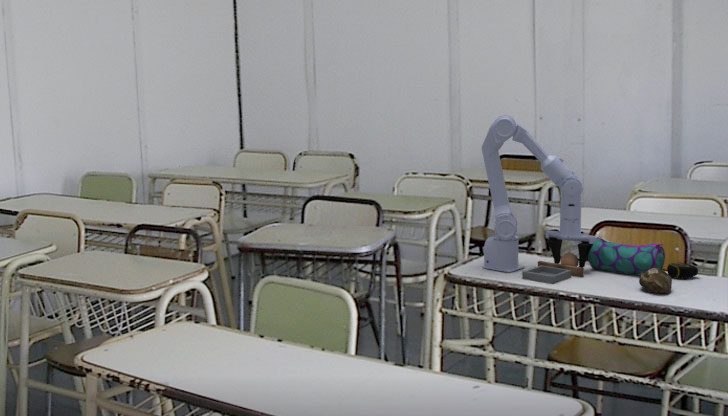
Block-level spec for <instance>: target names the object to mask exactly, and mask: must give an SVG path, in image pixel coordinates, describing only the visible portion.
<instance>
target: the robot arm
mask: <svg viewBox="0 0 728 416" xmlns="http://www.w3.org/2000/svg"><path fill="white" fill-rule="evenodd" d="M510 138H511V139H512V141H513V142H515V143H516V142H517V143H520V144H522V145H523V146H524V147H525V148H526V149H527V150H528V151H529V152H530V153H531V154H532V155H533V156H534V157H535V158H536V159H537V160H538V161H539V162H540V170H541V171H542V173H544V174H545V175H546V176H547V178H548V179H550V181H551V182H552V183H553V184H554V185H555V186H557V187H559V189H560V192H561V201H560V204H559V205H560V210H559V213H560V214H559V231H558V230H557V231H556V230H547V231H545V239H547V241H546V243H547V246H548V247H549V249H550V251H551V255H552V258H553V263H556V264H561V258H562V256H561V251H562V244H563V240H564V241H571V242H579V243H577V248H578V261H579V263H578V267H581V268H584V267H585V265H586V262H587V260H588V259H587V258H588V254H589V251H590V250H591V248H592V246H593V243H595V239H596V235H590V234H586V233H581V231H582V230H581V227H582V202H581V201H582V196H581V195H582V193H583V190H584V188H583V184H582V182H581V181H580V179H579V177H578V176H577V175H575V174H576V173H575V172H574V171H573V170H570V169H569V168H568V166H567V165H566V164H565V163H564V159H563V158H562V157H558V156H557V155H550V154H549V153H548V152H547V151H546V149H544V148H543V146H542V145H541V144H540V143H539V141H537V139H536V138H535V137H534V136H533V135H532V133H530V131H528V130H527V129H526V128H525V127H524V126H523V125H522V124H520V122H516V120H515V119H514V117H513V116H511V115H508V114H503V115H500V116H498V117H497V118H496V119H495V120H494V121H493V122H492V124H491V125H490V127H489V129H488V131H487V133H486V136H485V137H484V141H483V142H482V145H481V152H482V156H483V162H484V167H485V172H486V176H487V181H488V185H489V191H490V196H491V202H492V206H493V209H494V218H495V222H494V223H495V224H494V233H495V234H494V235H492V236H489V237H487V239H485V242H484V246H483V250H484V251H483V256H484V257H483V258H484V259H483V265H482V268H483V269H488V270H492V271H493V270H494V271H498V272H504V273H511V272H512V273H513V272H515V271H518V270H521V269H525V266H524V265H519V236H518V235H517V232H518V220H517V218H516V217H515V216H514V214H513V212H512V209H511V205H510V199H509V195H508V191H507V186H506V180H505V177H504V171H503V167H502V163H501V157H500V156H501V155H500V152H499V151H500V150H501V149H502V147H503V145H504V144H505V142H507V141H509V140H510Z"/></svg>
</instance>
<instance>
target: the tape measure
mask: <svg viewBox="0 0 728 416" xmlns="http://www.w3.org/2000/svg"><path fill="white" fill-rule="evenodd" d="M666 270H667V274H668V275H669V276H670V277H671V278H672V277H673V278H674V279H679V280H681V278H682V279H691V278H693V277H695V276H697V275H698V274H699V268H698V267H697V266H695V265H691V264H689V263H688V264H687V263H684V262H683V263H682V262H671V263H669V264H668V265H667V268H666Z"/></svg>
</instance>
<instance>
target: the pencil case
mask: <svg viewBox="0 0 728 416" xmlns="http://www.w3.org/2000/svg"><path fill="white" fill-rule="evenodd" d="M663 245H664V243H662V242H661V243H659V244H658V243H650V244H643V245H637V244H636V245H633V244H624V243H616V242H613V241H610V240H608V239H606V238H604V237H602V236H601V235H599V236H597V237H596V239H595V243H593V246H592V248H591V250H590V251H589V254H588V256H587V258H588V259H587V260H588V263H589V266H590V267H591V268H592V269H598V270H601V271H608V272H612V273H613V272H614V273H617V274H627V275H634V276H635V275H636V276H641V274H640V273H645V272H646V271H648V270H650V269H653V268H657V269H661V270H663V267H664V264H665V260H666V254H665V253H666V252H665V249H664V248H663Z"/></svg>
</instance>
